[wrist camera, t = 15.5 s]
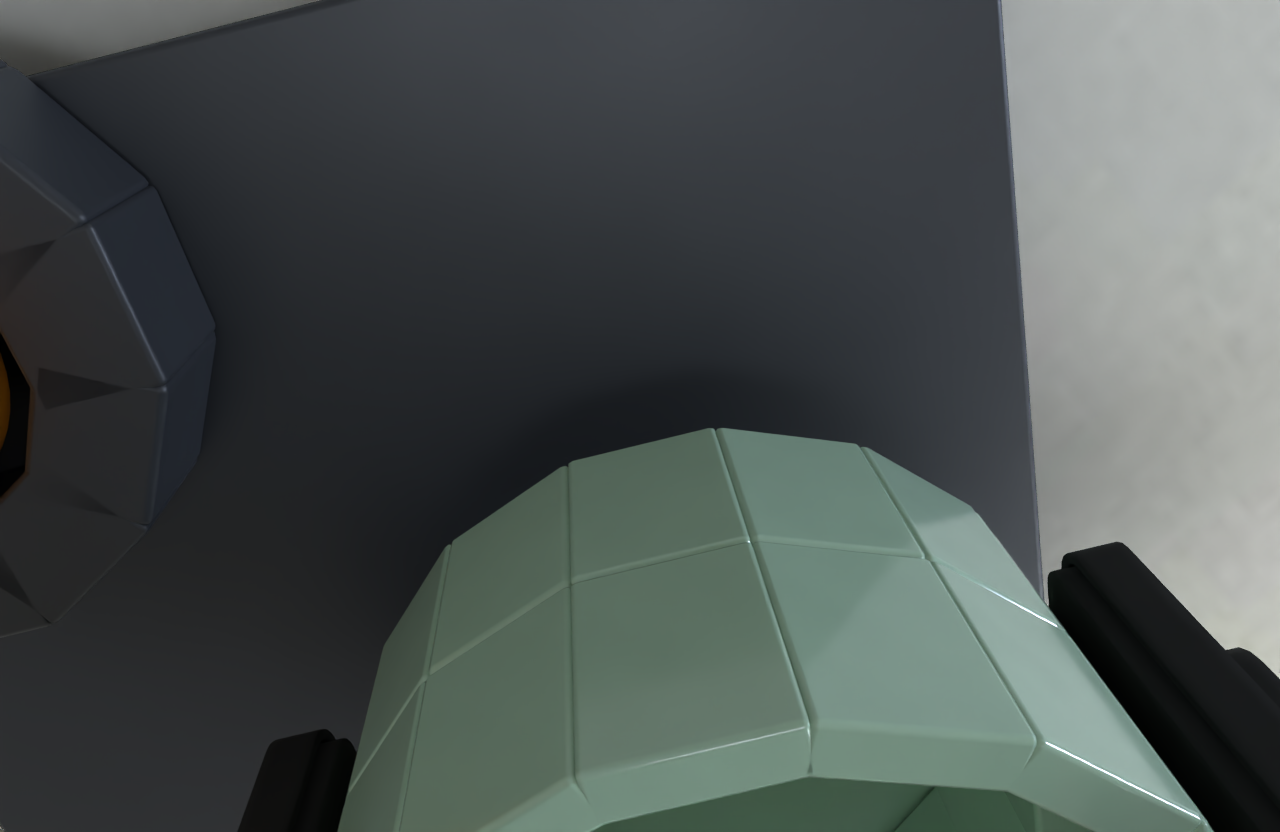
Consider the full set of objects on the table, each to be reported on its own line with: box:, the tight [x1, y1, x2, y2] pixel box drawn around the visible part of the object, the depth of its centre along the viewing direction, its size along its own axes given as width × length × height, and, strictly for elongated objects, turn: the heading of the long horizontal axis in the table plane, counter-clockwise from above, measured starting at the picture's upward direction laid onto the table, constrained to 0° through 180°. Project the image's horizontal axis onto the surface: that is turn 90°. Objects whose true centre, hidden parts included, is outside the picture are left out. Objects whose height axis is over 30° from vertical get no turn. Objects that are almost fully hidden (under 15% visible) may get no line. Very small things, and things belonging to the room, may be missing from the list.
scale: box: [0, 0, 1044, 832], centre depth 12 cm, size 14×13×3 cm
